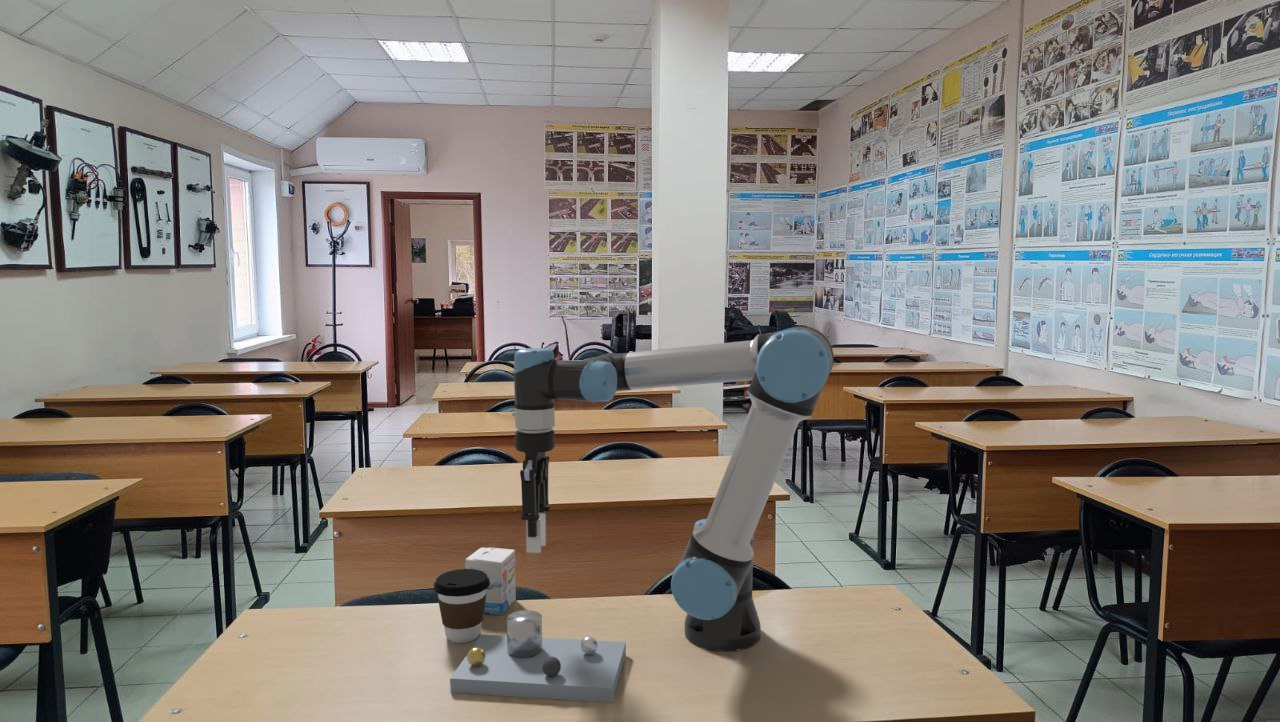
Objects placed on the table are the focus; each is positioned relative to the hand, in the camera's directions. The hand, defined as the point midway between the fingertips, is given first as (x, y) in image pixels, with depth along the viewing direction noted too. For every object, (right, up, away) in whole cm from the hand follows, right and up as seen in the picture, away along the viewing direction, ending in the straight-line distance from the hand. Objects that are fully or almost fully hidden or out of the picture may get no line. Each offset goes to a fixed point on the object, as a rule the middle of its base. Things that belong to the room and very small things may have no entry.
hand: (536, 548), depth 152 cm
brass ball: (-9, -16, -14) cm, 23 cm away
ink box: (-12, -17, +18) cm, 28 cm away
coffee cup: (-15, -19, +4) cm, 24 cm away
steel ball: (+11, -16, -9) cm, 21 cm away
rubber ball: (+5, -16, -17) cm, 24 cm away
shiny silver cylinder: (-1, -17, -8) cm, 18 cm away
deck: (+3, -20, -11) cm, 23 cm away
